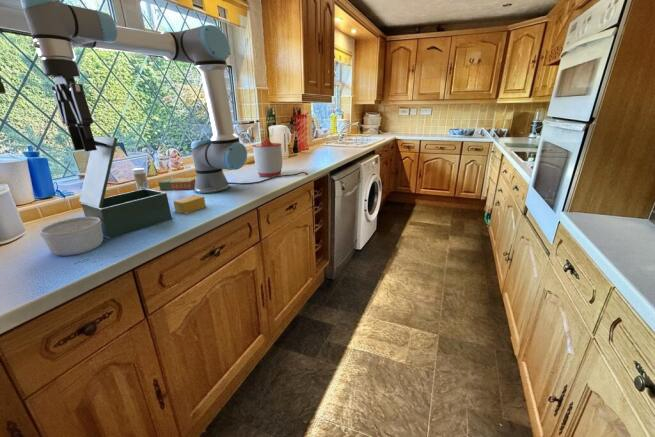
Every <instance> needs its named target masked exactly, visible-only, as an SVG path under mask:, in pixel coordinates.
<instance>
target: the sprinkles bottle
mask: <svg viewBox="0 0 655 437" xmlns="http://www.w3.org/2000/svg"><path fill="white" fill-rule="evenodd" d="M131 171H132V175H133V177H134V182H135V186H136V191H137V190H141V189H150V185H149V182H148V179H147V174H146V169H145V168H144V167H139V168H138V167H137V168H133V169H132V170H131Z"/></svg>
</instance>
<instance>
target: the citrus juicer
mask: <svg viewBox="0 0 655 437" xmlns="http://www.w3.org/2000/svg"><path fill="white" fill-rule="evenodd" d="M252 151H253V158H254V165H255V168H256V171H257V174H258V175H259V177H262V178H272V177H275V176H280V175H281V174H282V170H283V152H282V143H280V142H271V141H270V140H269V139H268V138H266V139H264V140H263V142H261V145H259V146H258V145H255V144H252Z"/></svg>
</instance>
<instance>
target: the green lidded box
mask: <svg viewBox="0 0 655 437" xmlns="http://www.w3.org/2000/svg"><path fill="white" fill-rule="evenodd" d="M80 203H81V207H82V211H83V214H84V217H98V218H100V219H101V222H102V225H101V227H102V232H103V238H106V239H107V240H108V239H109V240H112V239H115V238H120V237H121V236H124V235H127V234H130V233H133V232H137V231H140V230H143V229H146V228H149V227H153V226H155V225H158V224H161V223H164V222H167V221H170V220H173V217H172V212H171V208H170V203H169V199H168V194H167V192H164V191H161V190H160V191H159V190H155V189H150V188H149V189H141V190H137V189H136V190H133V191H129V192H124V193H119V194H116V195H111V196H107V197H104V201H103V205H102V208H99V207H95V206H92V205H89V204H85V203H82V202H80Z"/></svg>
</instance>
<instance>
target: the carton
mask: <svg viewBox="0 0 655 437" xmlns="http://www.w3.org/2000/svg"><path fill="white" fill-rule="evenodd" d="M195 179H196V176H195V177H194V176H193V177H171V178H170V177H169V178H165V179H163V180H160V181H158V186H159V190H160V191H171V190H172V191H173V190H175V191H176V190H193V189H195Z"/></svg>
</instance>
